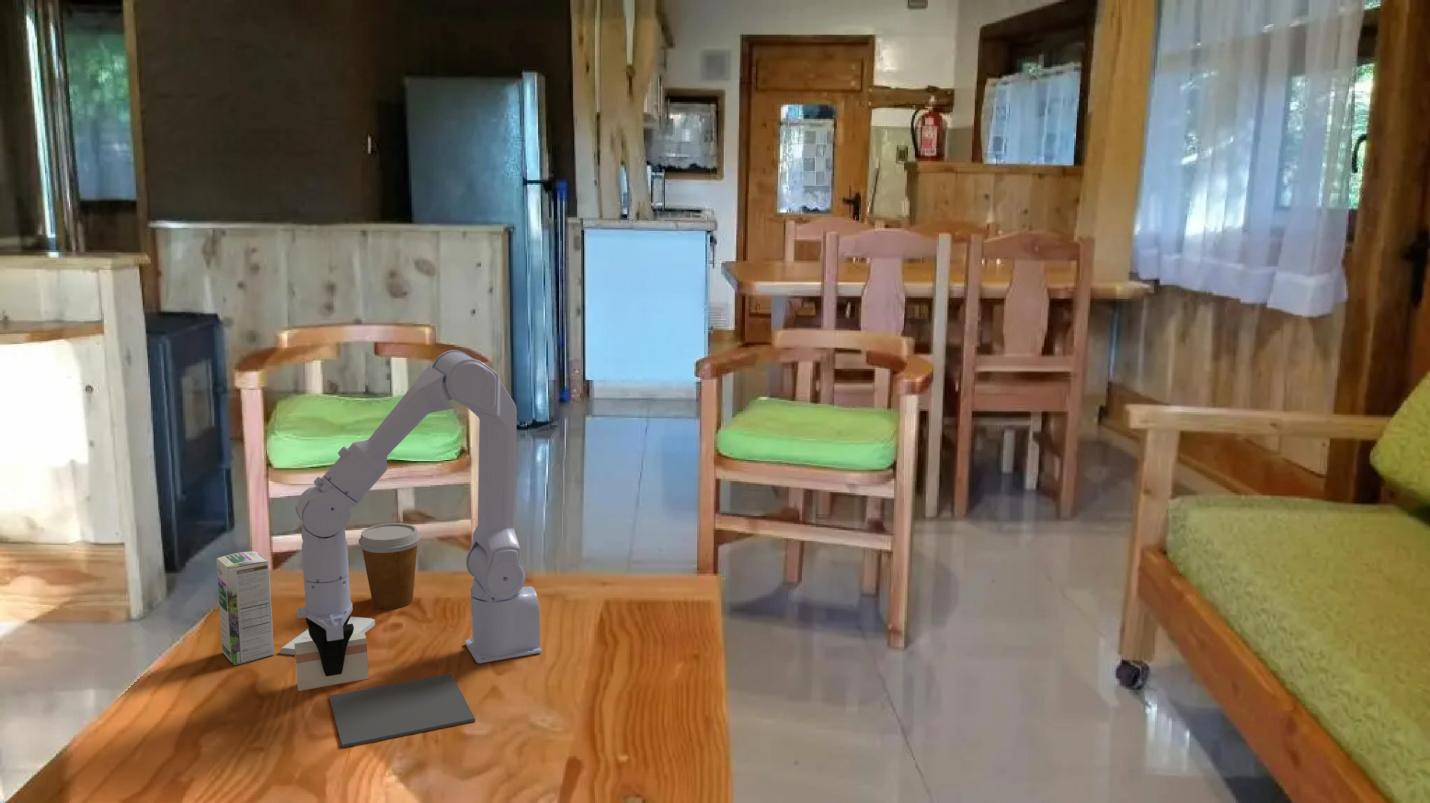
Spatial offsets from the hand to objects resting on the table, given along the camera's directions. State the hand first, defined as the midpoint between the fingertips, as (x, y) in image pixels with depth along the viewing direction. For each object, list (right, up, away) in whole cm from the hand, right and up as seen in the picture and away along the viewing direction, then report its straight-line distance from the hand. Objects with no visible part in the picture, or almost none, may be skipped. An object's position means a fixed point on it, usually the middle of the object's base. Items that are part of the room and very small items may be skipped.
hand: (332, 670), depth 146 cm
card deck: (0, -2, 0) cm, 2 cm away
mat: (+11, -3, -7) cm, 14 cm away
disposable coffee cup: (0, +4, +28) cm, 29 cm away
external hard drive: (-5, 0, +14) cm, 15 cm away
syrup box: (-15, 0, +8) cm, 17 cm away
